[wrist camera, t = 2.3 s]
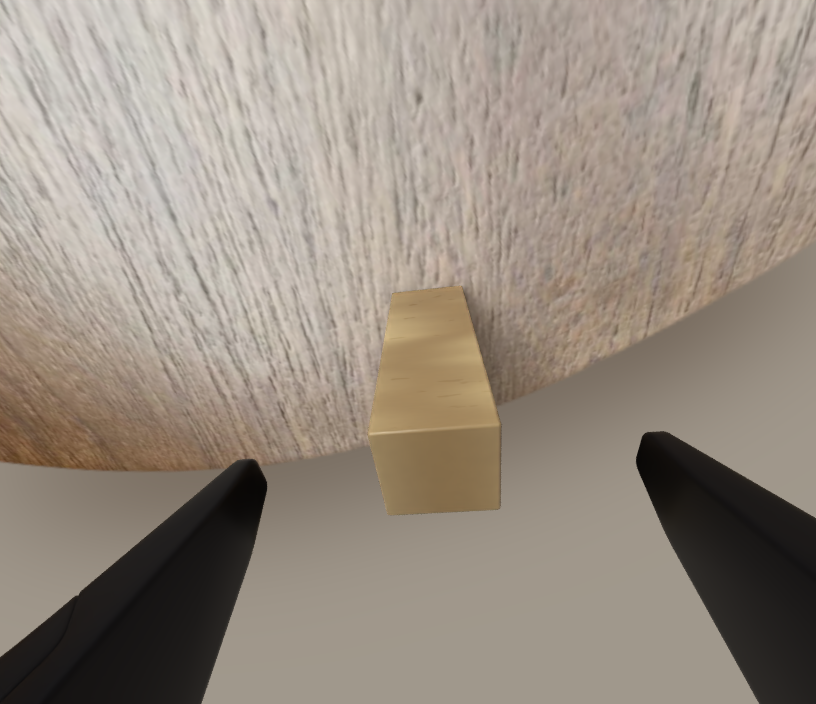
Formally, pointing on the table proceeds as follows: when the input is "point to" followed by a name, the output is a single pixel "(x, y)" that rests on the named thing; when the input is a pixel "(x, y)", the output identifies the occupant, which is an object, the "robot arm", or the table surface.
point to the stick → (434, 410)
